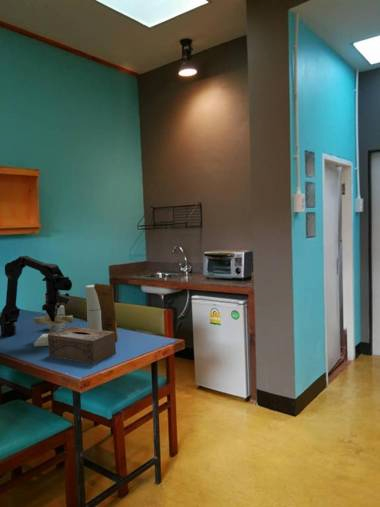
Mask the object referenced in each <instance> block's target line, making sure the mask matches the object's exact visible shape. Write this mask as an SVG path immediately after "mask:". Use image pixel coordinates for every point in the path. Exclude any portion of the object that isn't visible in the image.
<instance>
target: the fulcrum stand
mask: <svg viewBox="0 0 380 507" xmlns="http://www.w3.org/2000/svg"><path fill="white" fill-rule="evenodd" d="M60 330H62V328H59V323H56V324H54V325H53V326H52V327H51V328H50V329H49V333H43V334H41V335H40V337H38V338H37V339H36V340H35V342H34V343H33V345H34V347H44V346H45V347H46V346H47V347H48V334H51V333H54V332H57V331H60Z"/></svg>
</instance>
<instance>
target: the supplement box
mask: <svg viewBox="0 0 380 507" xmlns="http://www.w3.org/2000/svg"><path fill="white" fill-rule="evenodd" d="M60 305H61V306H60V307H59V308H58V312H57V316H66V312H65V305H63V304H60ZM45 312H46V311H45ZM45 317H49V315H48V314H47V312H46V316H45ZM53 325H54V324H46V329H48V330H50V328H51V327H52V326H53ZM59 328H61V329H66V323H59Z"/></svg>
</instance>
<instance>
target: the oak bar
mask: <svg viewBox="0 0 380 507" xmlns="http://www.w3.org/2000/svg"><path fill="white" fill-rule="evenodd" d="M73 322H74V315H65V316H55V320H54V322H52V321H51V319H50V317H47V316H35V318H34V326H35V325H47V324H56V323H65V324H71V323H73Z"/></svg>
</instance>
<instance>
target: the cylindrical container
mask: <svg viewBox="0 0 380 507" xmlns="http://www.w3.org/2000/svg"><path fill="white" fill-rule="evenodd" d="M94 285H95V284H90V285H86V286H85V301H86V318H87V319H86V320H87V321H86V322H87V329H95V330H102V322H101V309H100V305H99V301H98V297H97V293H96V291H95V288H94Z"/></svg>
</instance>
